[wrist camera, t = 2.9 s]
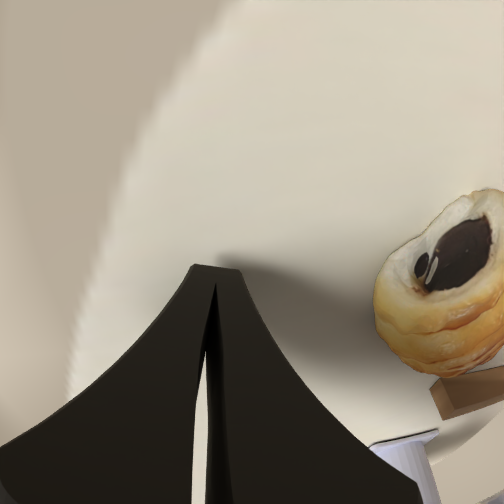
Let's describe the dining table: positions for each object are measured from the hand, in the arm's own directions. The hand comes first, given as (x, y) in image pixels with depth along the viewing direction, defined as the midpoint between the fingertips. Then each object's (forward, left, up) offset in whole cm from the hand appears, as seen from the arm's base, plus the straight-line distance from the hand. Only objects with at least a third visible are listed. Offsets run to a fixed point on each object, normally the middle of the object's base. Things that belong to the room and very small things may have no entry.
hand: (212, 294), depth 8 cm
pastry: (+1, -9, -1) cm, 10 cm away
